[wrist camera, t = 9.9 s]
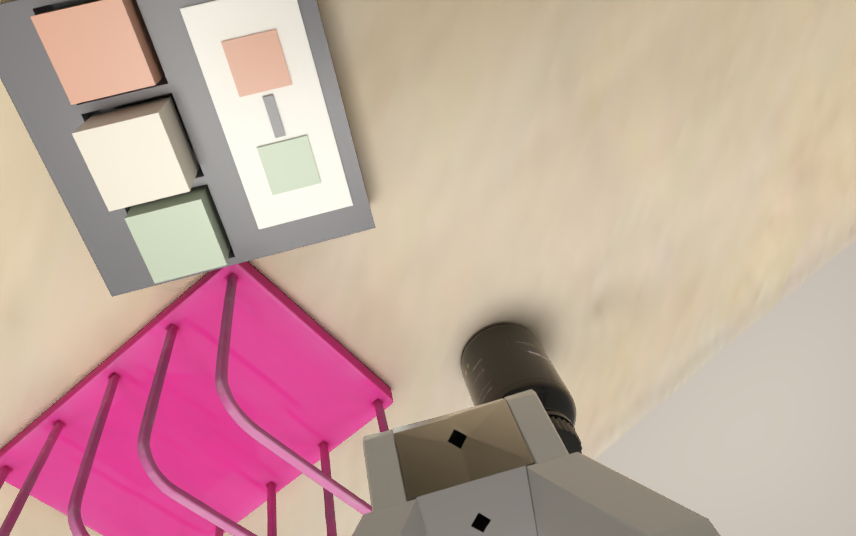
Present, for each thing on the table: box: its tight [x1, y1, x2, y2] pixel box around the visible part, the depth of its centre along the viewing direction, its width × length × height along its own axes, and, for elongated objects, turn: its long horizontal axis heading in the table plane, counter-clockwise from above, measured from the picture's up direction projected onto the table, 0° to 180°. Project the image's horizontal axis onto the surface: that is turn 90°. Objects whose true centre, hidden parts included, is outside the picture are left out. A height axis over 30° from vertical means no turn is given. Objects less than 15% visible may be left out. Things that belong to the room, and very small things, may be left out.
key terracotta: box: [31, 0, 165, 105], centre depth 34 cm, size 4×4×4 cm
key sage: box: [124, 184, 231, 284], centre depth 40 cm, size 4×4×4 cm
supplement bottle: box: [461, 324, 582, 454], centre depth 48 cm, size 7×7×12 cm
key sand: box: [72, 96, 199, 212], centre depth 35 cm, size 4×4×4 cm
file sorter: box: [0, 261, 393, 536], centre depth 44 cm, size 17×25×16 cm
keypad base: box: [0, 0, 375, 296], centre depth 38 cm, size 17×17×4 cm
